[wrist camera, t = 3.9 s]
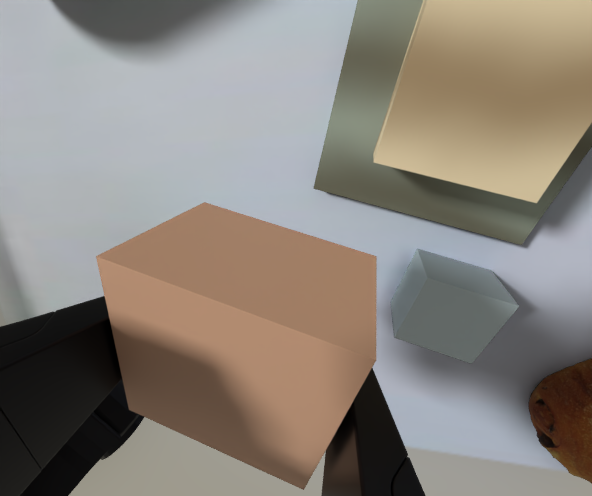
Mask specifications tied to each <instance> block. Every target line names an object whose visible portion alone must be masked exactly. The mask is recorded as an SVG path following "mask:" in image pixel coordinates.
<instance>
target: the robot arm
mask: <svg viewBox="0 0 592 496" xmlns="http://www.w3.org/2000/svg"><path fill="white" fill-rule="evenodd" d="M143 418H144V416H142V415H140V414H137V413H135V412H133V411H131V410H129V407H128V403H127V398H126V393H125V389H124V384H123V379H122V375H121V370H120V365H119V361H118V356H117V351H116V347H115V342H114V337H113V332H112V328H111V323H110V318H109V314H108V309H107V304H106V300H105V296H103V297H100V298H96V299H93V300H90V301H86V302H83V303H80V304H76V305H73V306H70V307H67V308H63V309H60V310H57V311H56V312H50V313H47V314H43V315H40V316H37V317H33V318H30V319H26V320H23V321H19V322H16V323H12V324H9V325H5V326H1V327H0V496H68V495H69V494H70V493H71V491H72V490H73V489H74V488H75V487H76V486H77V485H78V483H79V482H80V481H81V480H82V479H83V477H84V476H85V475H86V474H87V473H88V472H89V470H90V469H91V468H92V467H93V466H94V465H95V464H96V463H97V462H98V461H99V460H100V459H102V460H103V459H105V458H107V457H108V456H110V455H111V454H113V453H114V452H115V451H116V450H117V449H118V448H119V447H120V446H121V445H123V444H124V442H125V441H126V440H127V439H128V438H129V437H130V436H131V435H132V433H133V432H134V431H135V430H136V428H137V427H138V426H139V424H140V423H141V421H142V420H143ZM407 456H408V453H407V451H406V449H405V446H404V444H403V441H402V439H401V436H400V434H399V432H398V429H397V427H396V424H395V422H394V419H393V417H392V415H391V412H390V410H389V407H388V405H387V402H386V400H385V398H384V395H383V393H382V390H381V388H380V385H379V383H378V381H377V378H376V376H375V373H374V371H373V368H371V370H370V372H369V374H368V376H367V377H366V379H365V381H364V383H363V385H362V386H361V388H360V390H359V392H358V394H357V395H356V397H355V399H354V401H353V402H352V404H351V406H350V408H349V410H348V411H347V413H346V415H345V417H344V419H343V420H342V422H341V424H340V426H339V427H338V429H337V431H336V433H335V435H334V436H333V438H332V440H331V442H330V444H329V445H328V447H327V449H326V455H325V466H324V476H323V486H322V496H425V493H424V491H423V489H422V487H421V484H420V482H419V480H418V477H417V475H416V473H415V470H414V468H413V465H412V463H411V460H410V458H409V457H407Z"/></svg>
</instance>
